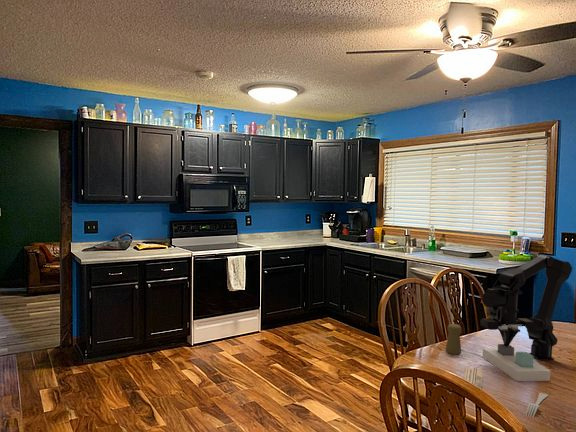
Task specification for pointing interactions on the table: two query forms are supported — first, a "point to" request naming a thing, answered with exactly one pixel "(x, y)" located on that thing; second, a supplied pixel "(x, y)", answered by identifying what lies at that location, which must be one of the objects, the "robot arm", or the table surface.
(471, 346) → the table surface
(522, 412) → the table surface
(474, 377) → the newspaper
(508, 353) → the dark grey cube
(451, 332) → the olive brown upright piece
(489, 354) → the white socket board
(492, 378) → the table surface
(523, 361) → the teal green cube
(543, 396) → the fork
